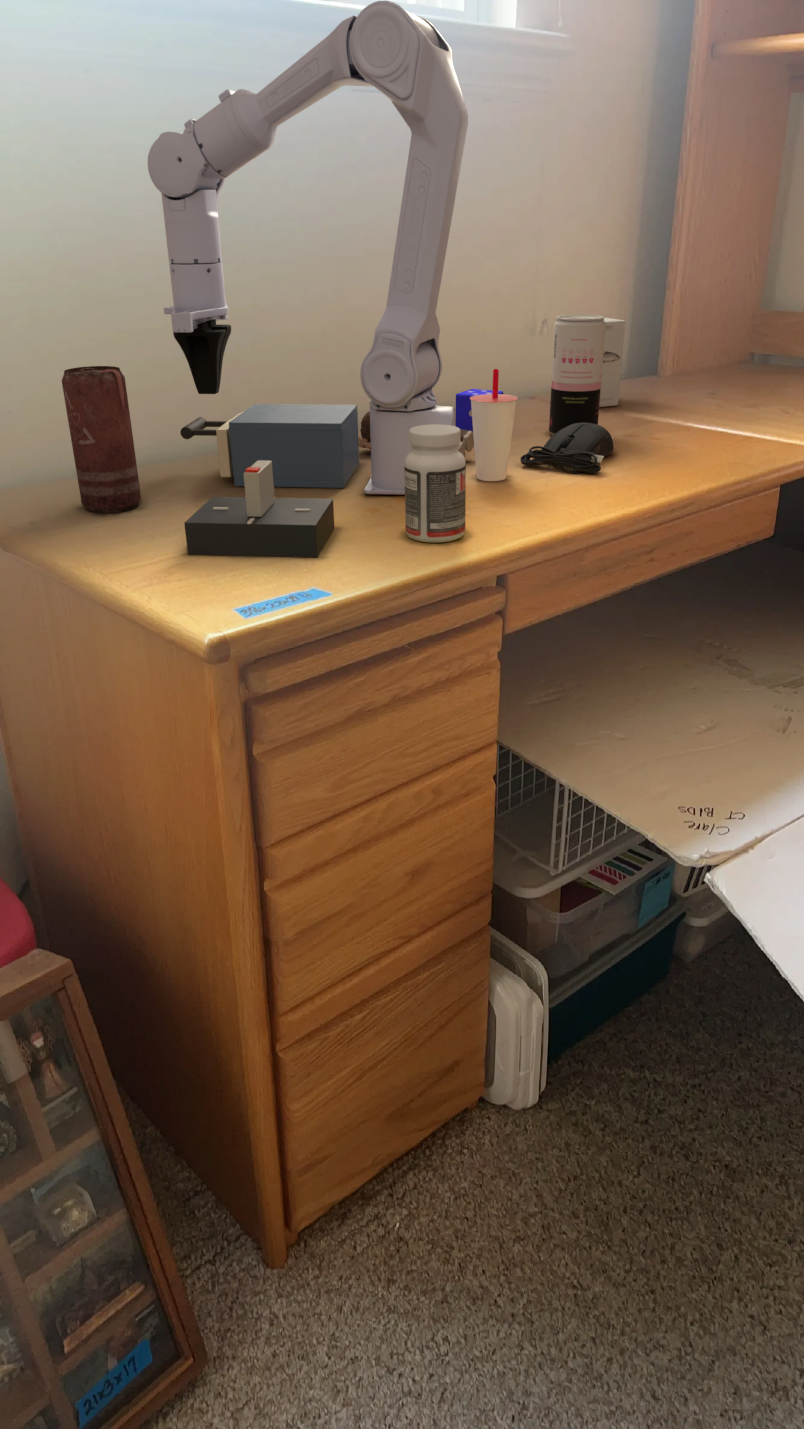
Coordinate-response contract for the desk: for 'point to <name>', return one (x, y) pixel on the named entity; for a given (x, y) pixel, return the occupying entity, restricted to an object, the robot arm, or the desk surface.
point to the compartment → (297, 443)
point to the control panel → (260, 528)
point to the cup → (492, 432)
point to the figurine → (365, 441)
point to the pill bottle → (435, 484)
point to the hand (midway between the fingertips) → (208, 393)
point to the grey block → (259, 488)
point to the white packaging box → (612, 361)
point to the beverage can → (576, 370)
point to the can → (102, 438)
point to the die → (467, 407)
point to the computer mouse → (574, 448)
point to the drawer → (223, 440)
